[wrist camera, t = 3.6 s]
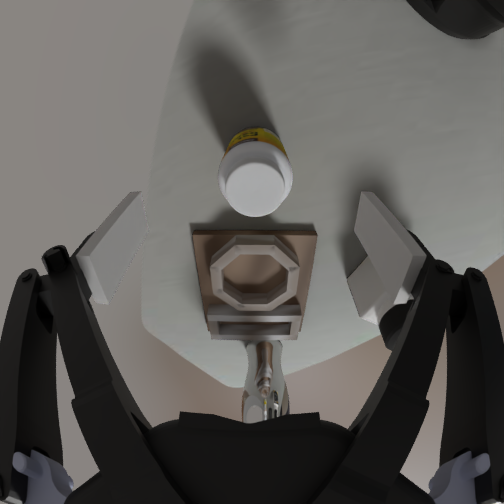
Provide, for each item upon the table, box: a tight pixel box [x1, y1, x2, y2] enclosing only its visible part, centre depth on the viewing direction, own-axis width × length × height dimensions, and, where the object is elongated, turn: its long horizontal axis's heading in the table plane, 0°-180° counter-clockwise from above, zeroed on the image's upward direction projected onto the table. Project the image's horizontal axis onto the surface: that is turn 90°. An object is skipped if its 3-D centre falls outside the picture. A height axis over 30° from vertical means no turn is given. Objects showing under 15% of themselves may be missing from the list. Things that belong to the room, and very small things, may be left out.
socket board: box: [193, 230, 317, 340], centre depth 35 cm, size 14×17×3 cm
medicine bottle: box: [347, 256, 414, 351], centre depth 29 cm, size 7×7×12 cm
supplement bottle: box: [218, 127, 293, 217], centre depth 22 cm, size 6×6×10 cm
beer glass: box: [242, 340, 290, 423], centre depth 38 cm, size 7×7×15 cm
